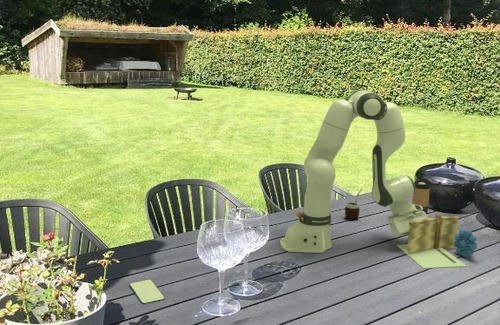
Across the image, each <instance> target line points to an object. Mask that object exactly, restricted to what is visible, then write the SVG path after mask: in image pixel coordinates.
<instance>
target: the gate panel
mask: <svg viewBox="0 0 500 325" xmlns="http://www.w3.org/2000/svg"><path fill="white" fill-rule="evenodd" d="M436 221H437V218H435V217H428V219H423V220H417V221H412V222H409V234H408V239H407V245H408V247H407V252H408V253H412V252H416V251H421V250H425V249H430V248H434V239H435V229H436Z"/></svg>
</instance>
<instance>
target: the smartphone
mask: <svg viewBox="0 0 500 325" xmlns="http://www.w3.org/2000/svg"><path fill="white" fill-rule="evenodd" d="M129 287H130V288H131V290H132V292H133V293H134V294H135V295H136V297H137V298H138V300H139V301H140V303H141V304H142V305H147V304H146V303H148V304H152V303H155V302H156V301H157V302H160V300H161V301H164V300H165V298H166V297H165V296H164V295H163V293H162V292H161V291H160V289H159V288H158V287H157V286H156V284H155V283H154V282H153V280H152V279H144V280H139V281H134V282H131V283H129ZM151 302H152V303H151Z"/></svg>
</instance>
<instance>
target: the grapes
mask: <svg viewBox="0 0 500 325" xmlns="http://www.w3.org/2000/svg"><path fill="white" fill-rule="evenodd" d="M455 240H456V241H455V242H454V244H453V245H454V246H455V253H456V254H458V255H461V256H462V257H463V258H466V257H468V256H470V257H471V256H473V255H474V252H475V250H476V249H477V248H478V244H477V243H476V241H477V236H476V235H475V234H473V232H472V230H470V229H469V230H468V229H467V230H465V229H461V230H460V231H459V233H457V234H456V235H455Z"/></svg>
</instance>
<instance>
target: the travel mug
mask: <svg viewBox="0 0 500 325" xmlns="http://www.w3.org/2000/svg"><path fill="white" fill-rule="evenodd" d="M414 183H415V187H416V188H415V192H414V194H413V195H412V200H411V201H412V203H411V204H415V205H420V206H422V208H423V210H421V211H424V212H425V213H426V214H427V215H428V210H429V202H430V191H431V182H430V181H426V180H414Z"/></svg>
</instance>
